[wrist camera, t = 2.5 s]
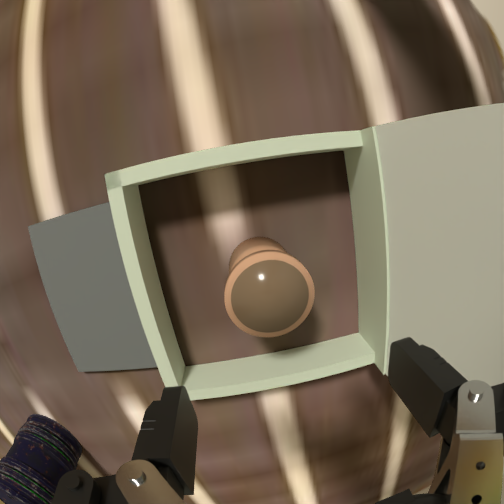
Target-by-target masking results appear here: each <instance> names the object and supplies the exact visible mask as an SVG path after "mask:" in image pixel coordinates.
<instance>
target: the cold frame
mask: <svg viewBox="0 0 504 504" xmlns="http://www.w3.org/2000/svg"><path fill="white" fill-rule="evenodd" d="M332 151H344V157H345V164H346V170H347V177H348V185H349V193H350V201H351V210H352V219H353V229H354V240H355V253H356V268H357V287H358V318H359V333H355V334H351V335H347V336H344V337H340V338H336V339H332V340H328V341H324V342H319V343H315V344H311V345H306V346H302V347H297V348H293V349H288V350H283V351H278V352H273V353H268V354H263V355H257V356H252V357H246V358H240V359H234V360H228V361H221V362H214V363H207V364H200V365H192V366H185V363H184V360H183V357H182V354H181V351H180V348H179V345H178V342H177V339H176V336H175V333H174V330H173V326H172V323H171V320H170V316H169V313H168V310H167V306H166V303H165V299H164V295H163V292H162V288H161V284H160V281H159V277H158V273H157V269H156V265H155V261H154V257H153V253H152V249H151V245H150V240H149V236H148V232H147V227H146V223H145V218H144V213H143V208H142V203H141V198H140V193H139V188H138V185H141V184H145V183H149V182H153V181H157V180H162V179H166V178H171V177H175V176H180V175H184V174H189V173H194V172H199V171H204V170H209V169H214V168H220V167H225V166H231V165H236V164H242V163H248V162H255V161H261V160H268V159H274V158H282V157H289V156H297V155H305V154H313V153H322V152H332ZM105 180H106V186H107V192H108V197H109V202H110V207H111V212H112V217H113V221H114V226H115V230H116V235H117V239H118V243H119V247H120V251H121V255H122V259H123V263H124V266H125V270H126V274H127V277H128V281H129V284H130V288H131V291H132V294H133V298H134V301H135V304H136V307H137V311H138V314H139V317H140V320H141V323H142V326H143V329H144V332H145V334H146V337H147V340H148V343H149V346H150V348H151V351H152V354H153V356H154V359H155V362H156V364H157V367H158V369H159V372H160V375H161V377H162V379H163V382H164V384H165V387H175V386H185V388H186V390H187V392H188V395H189V398H190V400H199V399H208V398H216V397H224V396H231V395H238V394H244V393H251V392H256V391H262V390H268V389H273V388H278V387H283V386H288V385H293V384H297V383H302V382H306V381H310V380H314V379H319V378H323V377H326V376H330V375H334V374H338V373H342V372H345V371H349V370H352V369H356V368H359V367H362V366H366V365H369V364H372V363H375V364H376V366H377V367H378V368H379V370H380V371H381V372H382V374H383V375H384V374H386V375H387V376H388V367H389V356H390V346H391V343H392V342H395V341H398V340H400V339H403V338H406V337H411V338H412V339H413V340H414V341H415V342H416V343H417V344H418V345H419V346H420V345H425V346H427V347H430V348H432V349H434V350H435V351H436V352H437V353H438V354H439V355H440V356H441V357H443V358H444V359H445V360H446V362H447V363H449V364H450V365H451V366H452V367H454V368H455V369H456V370H457V371H458V372H459V373H460V374H461V375H462V376H463V377H464V378H465V379H466V380H468V381H471V380H480V381H483V382H486V383H487V384H489V385H490V386H495V385H498V384H502V383H504V103H499V104H491V105H483V106H476V107H469V108H463V109H457V110H451V111H445V112H440V113H434V114H429V115H424V116H419V117H414V118H409V119H405V120H400V121H396V122H391V123H387V124H383V125H379V126H375V127H369V128H366V129H363V130H360V131H343V132H330V133H318V134H308V135H298V136H290V137H281V138H274V139H266V140H259V141H252V142H246V143H240V144H234V145H228V146H222V147H217V148H211V149H206V150H201V151H196V152H191V153H187V154H182V155H177V156H173V157H169V158H164V159H160V160H156V161H152V162H148V163H144V164H140V165H136V166H132V167H129V168H125V169H121V170H118V171H114V172H111V173H108V174H105ZM503 476H504V457H503Z"/></svg>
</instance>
